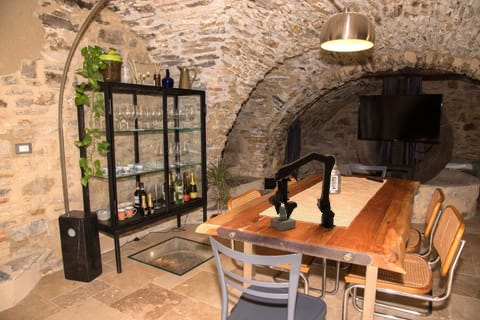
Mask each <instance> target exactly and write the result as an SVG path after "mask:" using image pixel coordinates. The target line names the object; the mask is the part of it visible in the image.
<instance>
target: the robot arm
mask: <svg viewBox="0 0 480 320" xmlns="http://www.w3.org/2000/svg"><path fill="white" fill-rule="evenodd" d="M313 161H318V162H320V163H321V165H322V181H321V183H322V184H321V191H320V192H321V195H320V197H319V198H318V197H317V199H316V201H317V202H316V206H317V209H318V210H319V212H321V217H320V223H319V226H321V227H323V228H324V229H330V228H335V227H336V224H334V222H335V221H334V220H335V216H336V213H335V212H334V211H333V210H332V206H331V200H330V192H331V181H332V172H333V170H334V168H335V164H336V159H335V157H334V156H332V155H331V154H328V153H326V154H322V153H318V152H315V151H310V152H309V153H307V154H305V155H304V156H302V157H300V158H298V159H296V160H294V161H292V162H290V163H287V164H283V165H280V166H279V167H277V169H276V172H275V174H274V175H273V177H267V176H264V177H263V190H264V191H267V190H268V191H271V190H273V191H274V190H275V189H277V190H276V191H275V193H274V194H273V195H270V196H269V197H267V199H268V203H269V204H270V205H272V206H273V207H274V210H275V212H276V215H278V216H280V207H281V206H282V204H283V206H284V207H285V208H284V209H285V210H286V217H287V219H289V218H291V216H292V213H293V212H294V210H295V209H296V208H298V203H297V202H296V201H293V200H290V198H289V194H290V193H291V192H290V190H289V182H293V180H292V179H291V178H290V177H289V176H290V175H291V174H292V173H293V172H294V171H295V170H297V169H300V168H301V167H303V166H304V165H307V164H309V163H310V162H311V163H312V162H313Z"/></svg>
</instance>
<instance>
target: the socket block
mask: <svg viewBox="0 0 480 320" xmlns="http://www.w3.org/2000/svg"><path fill="white" fill-rule="evenodd" d="M269 219H270V220H269V221H270V222H269V223H270V226H271V227H272V228H275V229H276V230H278V231H281V232H283V231H286V230H292V229H294V228H296V226H297V225H296V224H297V222H296V221H297V220H296V219H293V218H292V217H290V218H289V219H287V217H286V221H280V216H276V217H272V218H269Z"/></svg>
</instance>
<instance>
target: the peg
mask: <svg viewBox="0 0 480 320" xmlns="http://www.w3.org/2000/svg"><path fill="white" fill-rule="evenodd" d="M284 208H285V207H284V205H283V206H282V205H281V207H280V213H279V217H280V221H286V210H285V209H284Z"/></svg>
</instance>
